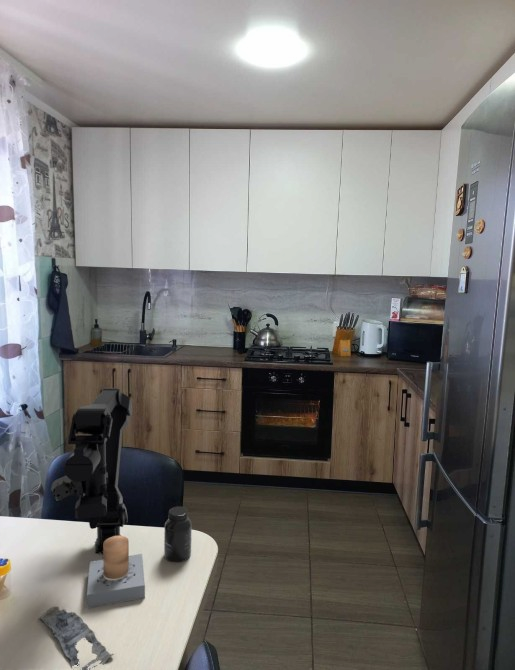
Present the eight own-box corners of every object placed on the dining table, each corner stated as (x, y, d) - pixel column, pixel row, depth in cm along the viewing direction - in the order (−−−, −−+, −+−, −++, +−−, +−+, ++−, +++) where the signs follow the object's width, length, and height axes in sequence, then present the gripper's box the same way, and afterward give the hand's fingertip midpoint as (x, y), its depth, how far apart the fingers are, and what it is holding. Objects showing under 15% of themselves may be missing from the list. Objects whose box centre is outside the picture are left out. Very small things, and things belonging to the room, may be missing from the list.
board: (90, 573, 107) (90, 561, 107) (142, 565, 111) (142, 553, 111) (87, 607, 96) (86, 594, 96) (144, 597, 99) (144, 585, 99)
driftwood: (36, 618, 93) (35, 609, 93) (68, 603, 98) (68, 594, 98) (78, 684, 79) (78, 673, 78) (114, 662, 83) (114, 651, 83)
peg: (103, 577, 105) (103, 537, 104) (128, 573, 107) (128, 534, 106) (103, 593, 100) (102, 551, 99) (129, 589, 102) (129, 547, 100)
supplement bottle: (159, 560, 113) (159, 515, 112) (171, 545, 120) (171, 502, 118) (185, 565, 111) (185, 519, 110) (195, 549, 118) (195, 506, 117)
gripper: (58, 450, 108) (60, 512, 110) (47, 484, 90) (49, 557, 92) (107, 446, 111) (108, 506, 113) (105, 478, 94) (106, 548, 95)
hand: (93, 527), depth 103 cm, fingers closed
